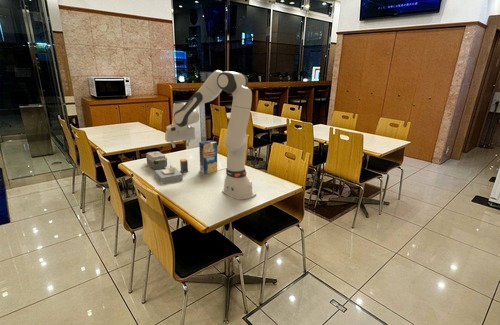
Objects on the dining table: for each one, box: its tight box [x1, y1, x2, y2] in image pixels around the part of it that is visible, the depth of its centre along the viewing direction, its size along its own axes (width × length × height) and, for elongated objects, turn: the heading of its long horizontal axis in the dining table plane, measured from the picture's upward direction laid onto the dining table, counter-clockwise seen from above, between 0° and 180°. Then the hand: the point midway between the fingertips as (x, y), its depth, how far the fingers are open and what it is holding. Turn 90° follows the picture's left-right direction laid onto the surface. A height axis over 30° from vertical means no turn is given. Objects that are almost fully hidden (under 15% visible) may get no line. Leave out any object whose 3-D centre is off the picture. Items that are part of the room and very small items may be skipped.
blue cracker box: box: [198, 140, 218, 175], centre depth 205 cm, size 7×11×22 cm, turn 127°
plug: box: [179, 158, 189, 173], centre depth 204 cm, size 4×4×9 cm
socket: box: [154, 167, 184, 184], centre depth 192 cm, size 16×14×4 cm
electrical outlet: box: [145, 151, 168, 170], centre depth 213 cm, size 12×28×10 cm, turn 34°
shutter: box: [161, 164, 176, 174], centre depth 191 cm, size 7×7×4 cm
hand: (180, 146), depth 191 cm, fingers open, 8 cm apart
